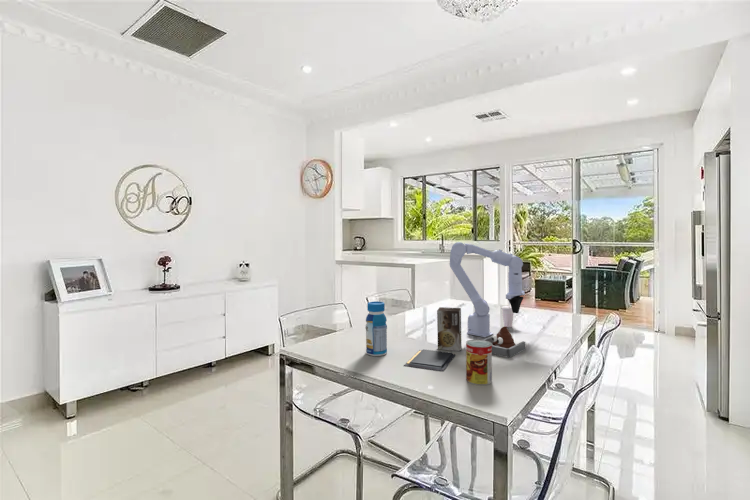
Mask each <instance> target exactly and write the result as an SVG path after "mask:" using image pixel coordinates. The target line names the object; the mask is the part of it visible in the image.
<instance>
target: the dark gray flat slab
mask: <svg viewBox="0 0 750 500" xmlns="http://www.w3.org/2000/svg"><path fill="white" fill-rule="evenodd" d="M455 357H456V354H454V353H453V352H448V351H443V350H431V349H419V350H417V352H416V353H414V355H413V356H412V357H410V359H408V361H406V362H405V363H404V364H403V367H407V368H414V369H420V370H427V371H435V372H445V371H446V369H447V368H448V367H449V365H450V363H451V362H452V360H453V359H454V358H455Z"/></svg>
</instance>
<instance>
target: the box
mask: <svg viewBox="0 0 750 500" xmlns="http://www.w3.org/2000/svg"><path fill="white" fill-rule="evenodd" d="M493 336H494V335H492V336H491V335H490V336H487V337H485V338H484V339H482V340H485V341H489V342H491V343H492V355H496V356H501V357H504V358H505V357H506V358H508V359H509V358H511V357H513V356H515V355H517V354H519V353H521V352H523V351H525V350H526V341H521V342H519V343H515V344H516V345H514V346H512V347H510V348H508V349H507V348H503V347H498V346H494V345H493V340H492V337H493Z"/></svg>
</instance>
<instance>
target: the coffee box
mask: <svg viewBox="0 0 750 500" xmlns="http://www.w3.org/2000/svg"><path fill="white" fill-rule="evenodd" d="M436 316H437V317H436V321H437V350H440V351H443V350H444V351H454V352H455V351H457V352H458V351H459V352H460V351H461V349H462V345H463V344H462V307H447V306H446V307H441V306H440V307H438V309H437V310H436Z"/></svg>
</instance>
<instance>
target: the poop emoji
mask: <svg viewBox="0 0 750 500" xmlns="http://www.w3.org/2000/svg"><path fill="white" fill-rule="evenodd" d="M492 336H493V337H492V340H493V344H492V345H494V346H498V347H503V348H507V349H508V348H510V347H512V346H514V345H516V344H517V343H515V340H514V338H513V335H512V333H511V332H510V330H509V329H508V327H507V326H504V325H503V326H502V327H501V328H500V330H499V331H498V332H497V333H496V334H495V335H494V334H493V335H492Z"/></svg>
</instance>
